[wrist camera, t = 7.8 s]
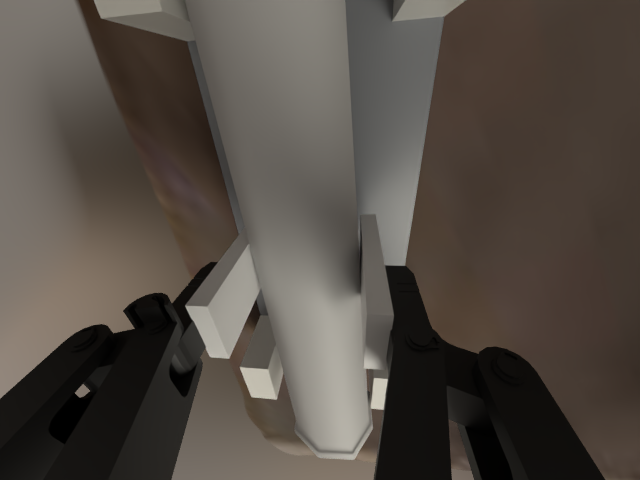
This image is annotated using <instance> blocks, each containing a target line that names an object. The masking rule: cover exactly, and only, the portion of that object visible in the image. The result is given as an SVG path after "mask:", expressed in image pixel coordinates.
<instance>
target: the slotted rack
mask: <svg viewBox="0 0 640 480" xmlns="http://www.w3.org/2000/svg"><path fill="white" fill-rule="evenodd" d="M464 1H465V0H345V5H346V23H347V41H348V58H349V76H350V94H351V112H352V130H353V148H354V166H355V184H356V201H357V219H358V237H359V245H360V215H361V214H376V220H377V225H378V231H379V236H380V242H381V247H382V253H383V258H384V263H385V265H392V266H405V261H406V255H407V249H408V242H409V236H410V230H411V223H412V217H413V211H414V204H415V198H416V192H417V185H418V179H419V173H420V166H421V160H422V154H423V148H424V141H425V135H426V129H427V122H428V116H429V110H430V103H431V97H432V91H433V84H434V78H435V72H436V65H437V59H438V53H439V46H440V40H441V34H442V28H443V21H444V16H445V15H447V14H448V13H449V12H451V11H452V10H453V9H455V8H456V7H457V6H459V5H460V4H461V3H463V2H464ZM94 2H95V5H96V7H97V10H98V12H99V15H100V17H101V18H102V19H105V20H109V21H113V22H116V23H120V24H124V25H128V26H131V27H135V28H139V29H143V30H146V31H150V32H154V33H158V34H161V35H165V36H169V37H173V38H176V39H180V40H184V41H187V43H188V47H189V51H190V54H191V58H192V62H193V66H194V69H195V73H196V77H197V81H198V84H199V88H200V92H201V95H202V99H203V103H204V107H205V110H206V114H207V118H208V122H209V125H210V129H211V133H212V136H213V140H214V144H215V148H216V151H217V155H218V159H219V163H220V166H221V170H222V174H223V177H224V181H225V185H226V189H227V192H228V196H229V200H230V204H231V207H232V211H233V215H234V218H235V222H236V226H237V230H238V233H239V234H240V233H241V232H242V230H243V229H244V228H245V225H244V222H243V218H242V214H241V210H240V207H239V203H238V199H237V195H236V191H235V188H234V184H233V180H232V176H231V173H230V169H229V165H228V161H227V158H226V154H225V150H224V146H223V143H222V139H221V135H220V131H219V127H218V124H217V120H216V116H215V112H214V109H213V105H212V101H211V97H210V94H209V90H208V86H207V82H206V79H205V75H204V71H203V67H202V63H201V60H200V56H199V52H198V48H197V45H196V41H195V37H194V33H193V30H192V26H191V22H190V18H189V15H188V11H187V7H186V3H185V0H94ZM256 300H257V304H258V308H259V312H260V318H259V320H258V323H257V325H256V328H255V330H254V333H253V335H252V338H251V340H250V343H249V345H248V348H247V350H246V353H245V355H244V358H243V360H242V363H241V365H240V369H241V372H242V374H243V377H244V379H245V382H246V384H247V387H248V389H249V392H250V394H251V397H256V398H267V399H277V397H278V393H279V388H280V384H281V380H282V376H283V368H282V365H281V361H280V357H279V353H278V350H277V346H276V342H275V338H274V335H273V331H272V327H271V323H270V320H269V316H268V312H267V308H266V304H265V301H264V297H263V293H262V289H260V291H259V293H258V296H257V298H256ZM387 382H388V368H387V366H386V370H378V369H369V387H370V403H371V408H372V409H382V410H384V403H385V394H386V388H387Z"/></svg>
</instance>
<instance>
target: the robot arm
mask: <svg viewBox="0 0 640 480" xmlns="http://www.w3.org/2000/svg"><path fill="white" fill-rule="evenodd" d="M359 255H360V273H361V318H362V343H363V368H365V369H378V370H386V366H387V368H388V382H387V388H386V394H385V403H384V410H383V417H382V424H381V431H380V438H379V445H378V452H377V459H376V466H375V474H374V480H452V476H451V458H450V440H449V422H448V419H450V420H452V421H454V422H457V424H458V428H459V431H460V434H461V437H462V441H463V444H464V447H465V451H466V454H467V457H468V461H469V464H470V467H471V470H472V474H473V477H474V480H605V479H604V477H603V476H602V474H601V472H600V471H599V469H598V468H597V466H596V464H595V463H594V461H593V460H592V458H591V457H590V455H589V453H588V452H587V450H586V449H585V447H584V446H583V444H582V442H581V441H580V439H579V438H578V436H577V435H576V433H575V431H574V430H573V428H572V427H571V425H570V424H569V422H568V420H567V419H566V417H565V416H564V414H563V413H562V411H561V409H560V408H559V406H558V405H557V403H556V402H555V400H554V398H553V397H552V395H551V394H550V392H549V391H548V389H547V387H546V386H545V384H544V383H543V381H542V380H541V378H540V376H539V375H538V373H537V372H536V371H535V370H534V368H533V367H532V366H531V365H530V364H529V362H527V361H526V360H525V359H523V358H522V357H521V356H519V355H518V354H516V353H514V352H512V351H509V350H507V349H504V348H499V347H487V348H485V349H483V350H482V351H480V352H479V354H477V353H474V352H471V351H468V350H465V349H461V348H458V347H456V346H453V345H451V344H449V343H447V342H446V341H444V340H443V339H442V338H441V337H440V336H439V335H438V333H437V332H436V331H435V330H433V329H432V327H431V325H430V322H429V319H428V316H427V313H426V310H425V307H424V304H423V301H422V298H421V295H420V293H419V289H418V286H417V283H416V280H415V276H414V274H413V273H412V272H411V271H410V270H409V269H408V268H407V267H406V266H392V265H385V263H384V258H383V253H382V247H381V242H380V236H379V231H378V225H377V220H376V214H361V215H360V245H359ZM260 289H261V286H260V282H259V278H258V274H257V271H256V267H255V263H254V259H253V256H252V252H251V248H250V244H249V240H248V237H247V233H246V229H245V228H244V229H243V230H242V232H241V233H240V234H239V235H238V237H237V238H236V239H235V241H234V242H233V243H232V245H231V246H230V247H229V249H228V250H227V251H226V253H225V254H224V255H223V256H222V258H221V259H220V260H219V262H210V263H209V264H207V265H206V266H205V267H203V268H202V269H200V271H199V272H198V273H197V274H196V275H195V277H194V279H192V280H191V282H190V283H189V284H188V286H187V287H186V288H185V289H184V290H183V291H182V292H181V294H180V295H179V296H178V297H177V298H176V300H175V301H174V302H173V303H171V302H170V299H169V298H168V296H167V295H166V294H163V293H153V294H149V295H145V296H143V297H141V298H139V299H137V300H136V301H134V302H132V303H131V304H129V305H128V306H127V307H126V308H125V310H124V311H123V312H124V313H125V314H126V316H127V317H128V319H129V320H130V322H131V323H132V325H133V326H134V328H135V329H132V330H127V331H122V332H118V333H113V332H112V331H111V330H110V329H109V327H108V326H106V325H102V324H100V325H93V326H90V327H87V328H84V329H82V330H80V331H79V332H77V333H75V334H74V335H72V336H71V337H69V338H68V339H67V340H66V341H65V342H63V343H62V344H61V345H60V346H59V347H58V348H57V349H56V350H54V351H53V352H52V353H51V354H50V355H49V356H48V357H47V358H45V359H44V360H43V361H42V362H41V363H40V364H39V365H37V366H36V367H35V368H34V369H33V370H32V371H31V372H30V373H29V374H27V375H26V376H25V377H24V378H23V379H22V380H21V381H20V382H18V383H17V384H16V385H15V386H14V387H13V388H12V389H11V390H10V391H8V392H7V393H6V394H5V395H4V396H3V397H2V398H1V399H0V480H171V478H172V475H173V471H174V467H175V464H176V461H177V457H178V453H179V450H180V446H181V443H182V439H183V435H184V432H185V428H186V425H187V421H188V418H189V414H190V410H191V407H192V403H193V399H194V396H195V393H196V389H197V385H198V382H199V378H200V375H201V371H202V364H203V363H202V361H201V359H200V356H201V355H202V353H203V351H204V349H205V348H206V350H207V352H208V354H209V356H210V357H215V358H228V359H229V358H230V355H231V353H232V351H233V349H234V347H235V344H236V342H237V340H238V338H239V336H240V333H241V331H242V329H243V327H244V324H245V322H246V320H247V318H248V316H249V313H250V311H251V309H252V307H253V305H254V302H255V300H256V298H257V296H258V293H259V291H260ZM82 384H84V385H85V386H86V387H87V388H88V389H89V390H90V392H89V393H88V394H86V395H85V396H84V397H81V398H79V397H78V396H77V395H76V394H75V392H76V391H77V390H78V388H79V387H80V386H81V385H82Z"/></svg>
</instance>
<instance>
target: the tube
mask: <svg viewBox="0 0 640 480" xmlns="http://www.w3.org/2000/svg"><path fill="white" fill-rule="evenodd" d="M185 3H186V7H187V11H188V15H189V18H190V22H191V26H192V30H193V33H194V37H195V41H196V45H197V48H198V52H199V56H200V60H201V63H202V67H203V71H204V75H205V79H206V82H207V86H208V90H209V94H210V97H211V101H212V105H213V109H214V112H215V116H216V120H217V124H218V127H219V131H220V135H221V139H222V143H223V146H224V150H225V154H226V158H227V161H228V165H229V169H230V173H231V176H232V180H233V184H234V188H235V191H236V195H237V199H238V203H239V207H240V210H241V214H242V218H243V222H244V225H245V229H246V233H247V237H248V240H249V244H250V248H251V252H252V256H253V259H254V263H255V267H256V271H257V274H258V278H259V282H260V286H261V289H262V293H263V297H264V301H265V304H266V308H267V312H268V316H269V320H270V323H271V327H272V331H273V335H274V338H275V342H276V346H277V350H278V353H279V357H280V361H281V365H282V368H283V372H284V376H285V380H286V384H287V387H288V391H289V395H290V399H291V402H292V406H293V410H294V414H295V417H296V423H295V433H296V434H297V435H298V436H299V437H300V438H301V439H302V440H303V442H304V443H305V444H306V445H307V446H308V447H309V448H310V449H311V450H312V451H313V452H314V453H315V454H316V455H317V456H318V457H319V458H331V459H350V460H354V459H355V457H356V456H357V454H358V452H359V451H360V449H361V447H362V446H363V444H364V442H365V441H366V439H367V437H368V436H369V434H370V432H371V431H372V429H373V425H372V414H371V403H370V392H369V391H367V380H366V369H365V368H363V343H362V318H361V273H360V255H359V237H358V219H357V201H356V184H355V166H354V148H353V130H352V112H351V94H350V76H349V58H348V41H347V23H346V5H345V0H185Z"/></svg>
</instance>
